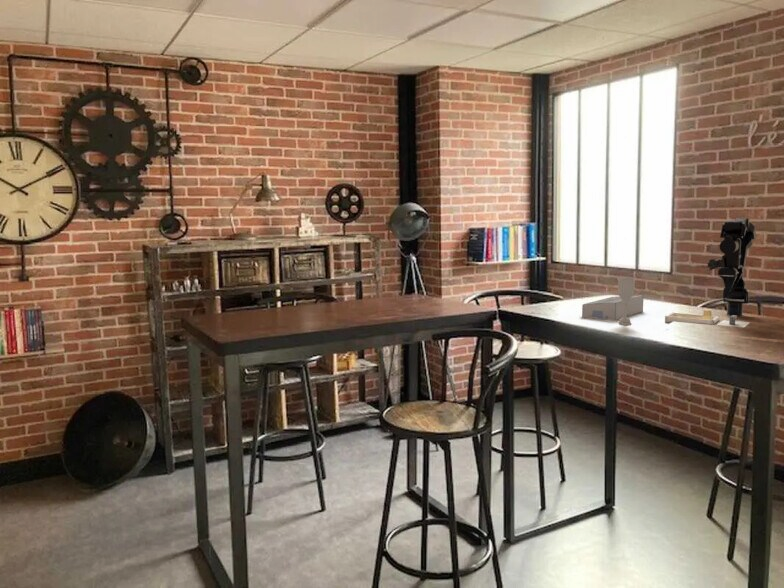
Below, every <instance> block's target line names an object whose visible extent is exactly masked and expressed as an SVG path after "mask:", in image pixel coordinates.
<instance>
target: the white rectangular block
mask: <svg viewBox="0 0 784 588" xmlns="http://www.w3.org/2000/svg"><path fill="white" fill-rule="evenodd" d="M737 318H738V316H737V315H732V316H729V320H724V319H723V320H721V321H719V322H718V323H717V324H716V326H724V327H734V328H746V327H747V326H748V325H749V324H750V323H751V322H749V321H739V320H738V321H737V320H736V319H737Z"/></svg>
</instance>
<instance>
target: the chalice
mask: <svg viewBox="0 0 784 588" xmlns="http://www.w3.org/2000/svg"><path fill="white" fill-rule="evenodd" d="M616 279H617V282H618V283H617V292H618V296H620V298H621V300H622V301H623V302H624V311H623V312H624V317H623V318H621V319H619V321H618V322H617V323H618V325H621V326H631V325H632V322H631V319H630V318H629V317H628V316H627V315H626V314H627V302H629V301H630V299H631V298H632V296H634V293H635V287H636V286H635V285H636V283H635V282H636V280H637V278H635V277H617V278H616Z"/></svg>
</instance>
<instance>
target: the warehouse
mask: <svg viewBox="0 0 784 588" xmlns="http://www.w3.org/2000/svg"><path fill="white" fill-rule="evenodd" d="M581 305H582V308H581V309H582V313H581V316H582V317H583V318H592V319H599V320H610V321H618V320H620V319H621V318H623V317H624V312H623V311H624V302H623V301H622V300H621V298H620V296H619V295H618V296H610V297H606V298H602V299H597V300H595V301H591V302H585V303H583V304H581ZM642 312H644V294H643V295H640V294H639V295H633V296H632V298H631V299H630V301H629V302H627V314H626V315H627V317H629V316H632V315H635V314H639V313H642Z"/></svg>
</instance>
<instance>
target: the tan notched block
mask: <svg viewBox="0 0 784 588" xmlns="http://www.w3.org/2000/svg"><path fill="white" fill-rule="evenodd" d="M702 315H703V318H701V317H689V316H677V317H684V318H696V319H707V320H711V316H712V310H709V309H704V310H703V314H702Z"/></svg>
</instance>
